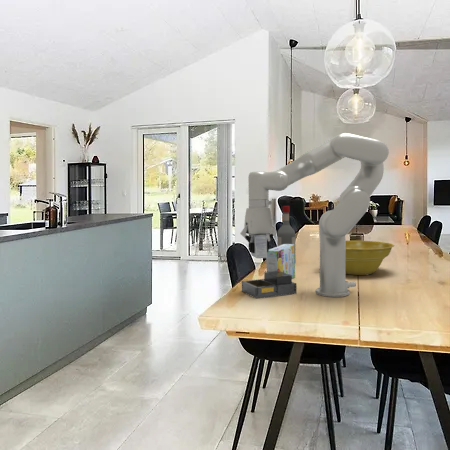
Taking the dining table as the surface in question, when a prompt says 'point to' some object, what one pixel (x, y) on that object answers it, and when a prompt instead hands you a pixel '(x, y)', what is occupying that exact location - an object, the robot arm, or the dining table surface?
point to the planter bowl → (365, 256)
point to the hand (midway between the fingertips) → (258, 251)
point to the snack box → (281, 259)
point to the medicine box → (260, 246)
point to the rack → (270, 285)
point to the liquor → (286, 230)
